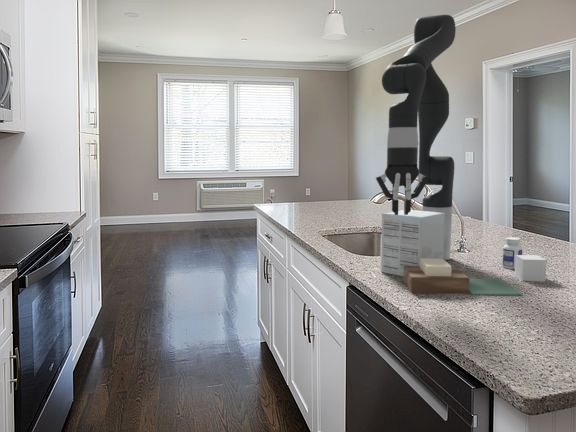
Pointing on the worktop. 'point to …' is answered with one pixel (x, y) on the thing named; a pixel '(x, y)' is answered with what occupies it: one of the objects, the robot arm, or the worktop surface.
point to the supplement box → (410, 239)
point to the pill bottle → (511, 252)
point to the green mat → (491, 287)
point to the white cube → (530, 268)
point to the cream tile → (435, 267)
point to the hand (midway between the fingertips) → (400, 214)
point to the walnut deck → (435, 281)
